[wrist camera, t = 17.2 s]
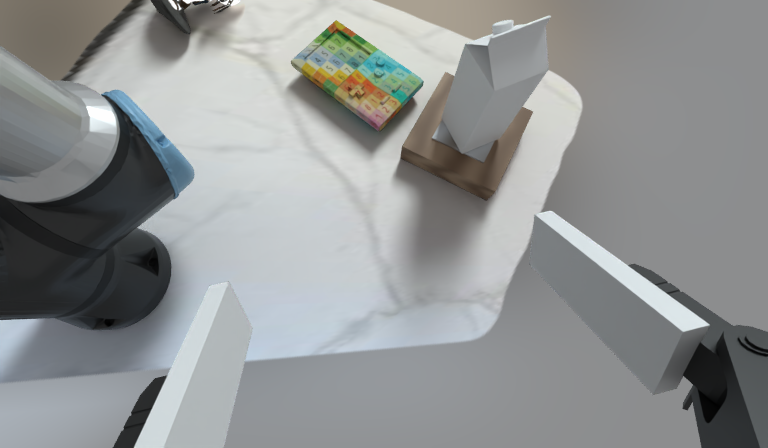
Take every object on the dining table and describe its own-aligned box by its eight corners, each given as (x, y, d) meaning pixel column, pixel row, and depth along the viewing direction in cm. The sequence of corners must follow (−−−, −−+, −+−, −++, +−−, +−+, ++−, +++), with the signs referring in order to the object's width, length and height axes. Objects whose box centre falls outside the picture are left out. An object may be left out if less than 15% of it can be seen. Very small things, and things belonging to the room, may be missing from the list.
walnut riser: (400, 158, 55) (402, 145, 50) (441, 87, 58) (445, 70, 54) (486, 200, 53) (495, 191, 49) (522, 125, 57) (534, 110, 52)
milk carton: (500, 138, 51) (568, 41, 33) (461, 154, 50) (508, 64, 32) (479, 103, 53) (532, -9, 34) (440, 118, 52) (474, 12, 33)
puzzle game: (379, 124, 51) (289, 57, 54) (379, 139, 56) (296, 76, 59) (424, 77, 54) (335, 15, 57) (420, 95, 58) (338, 37, 61)
